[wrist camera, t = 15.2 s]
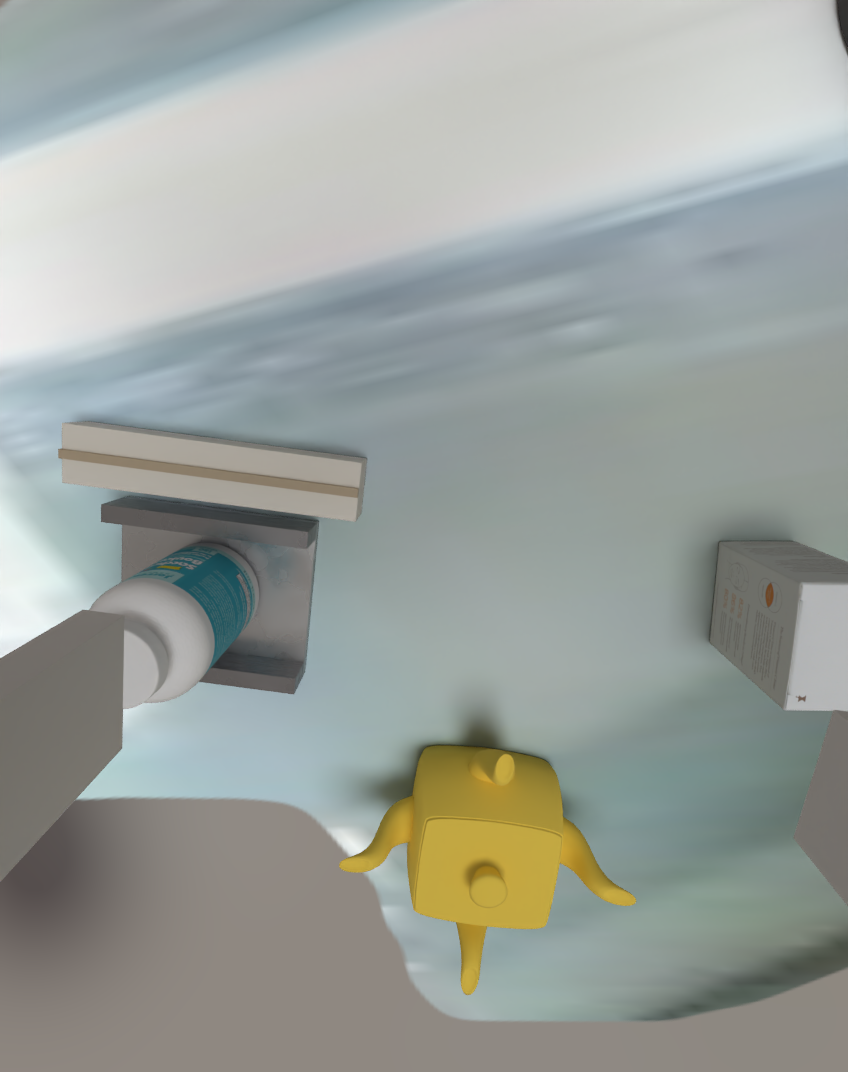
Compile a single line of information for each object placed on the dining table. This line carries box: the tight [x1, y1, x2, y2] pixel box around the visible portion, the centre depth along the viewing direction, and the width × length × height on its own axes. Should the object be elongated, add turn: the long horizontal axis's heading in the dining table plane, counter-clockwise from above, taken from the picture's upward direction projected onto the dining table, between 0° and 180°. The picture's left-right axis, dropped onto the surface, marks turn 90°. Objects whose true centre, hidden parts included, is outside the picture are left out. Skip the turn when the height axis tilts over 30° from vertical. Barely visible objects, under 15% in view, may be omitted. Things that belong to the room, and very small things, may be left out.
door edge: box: [58, 421, 367, 522], centre depth 42 cm, size 4×20×3 cm, turn 83°
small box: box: [710, 541, 848, 711], centre depth 39 cm, size 8×6×10 cm
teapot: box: [339, 745, 636, 995], centre depth 44 cm, size 15×14×10 cm
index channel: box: [101, 496, 319, 694], centre depth 44 cm, size 12×14×4 cm
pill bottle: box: [89, 543, 259, 709], centre depth 38 cm, size 8×7×14 cm
